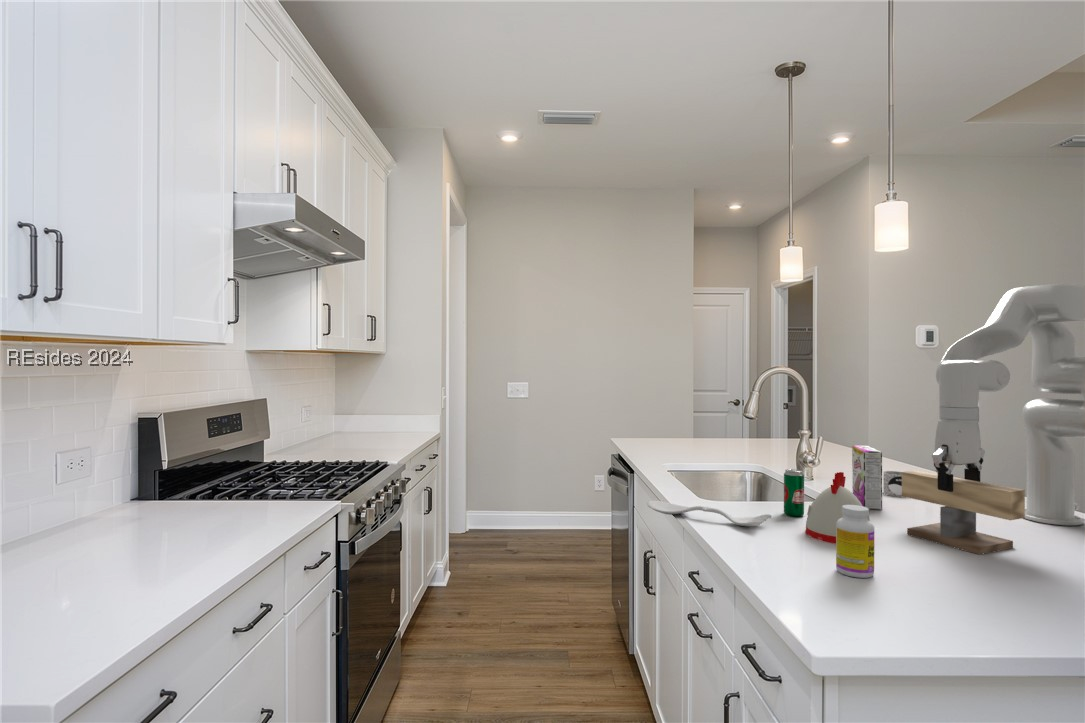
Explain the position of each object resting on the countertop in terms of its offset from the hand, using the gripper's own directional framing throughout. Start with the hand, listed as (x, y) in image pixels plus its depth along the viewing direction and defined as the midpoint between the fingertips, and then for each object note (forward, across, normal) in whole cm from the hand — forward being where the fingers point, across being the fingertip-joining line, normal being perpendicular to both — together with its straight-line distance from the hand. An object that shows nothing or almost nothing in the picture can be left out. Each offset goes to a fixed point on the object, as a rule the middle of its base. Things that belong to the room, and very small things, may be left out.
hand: (959, 488), depth 137 cm
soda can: (+12, +17, -32) cm, 38 cm away
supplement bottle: (+12, +40, +5) cm, 42 cm away
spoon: (+12, +42, -39) cm, 58 cm away
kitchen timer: (+12, +22, -14) cm, 29 cm away
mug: (+13, -33, -37) cm, 51 cm away
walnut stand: (+12, 0, 0) cm, 12 cm away
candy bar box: (+12, -11, -32) cm, 36 cm away
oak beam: (+4, 0, 0) cm, 4 cm away
